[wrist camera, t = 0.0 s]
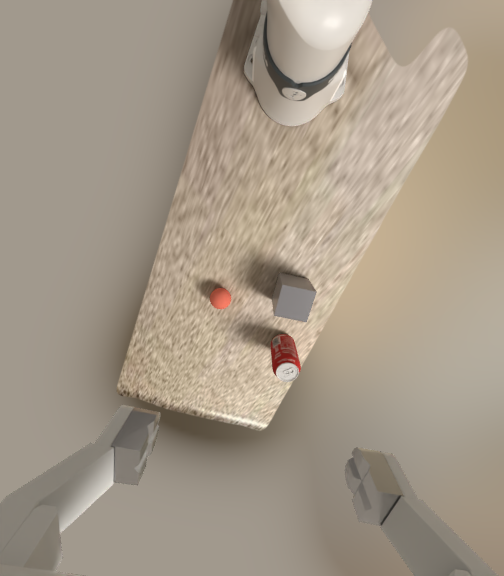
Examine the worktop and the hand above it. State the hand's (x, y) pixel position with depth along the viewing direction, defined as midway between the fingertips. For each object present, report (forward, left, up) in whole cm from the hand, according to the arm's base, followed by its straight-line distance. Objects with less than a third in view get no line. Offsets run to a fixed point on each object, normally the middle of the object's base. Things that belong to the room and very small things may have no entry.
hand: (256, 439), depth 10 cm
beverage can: (+24, +12, -48) cm, 55 cm away
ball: (+14, -6, -46) cm, 48 cm away
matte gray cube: (+9, +10, -48) cm, 50 cm away
